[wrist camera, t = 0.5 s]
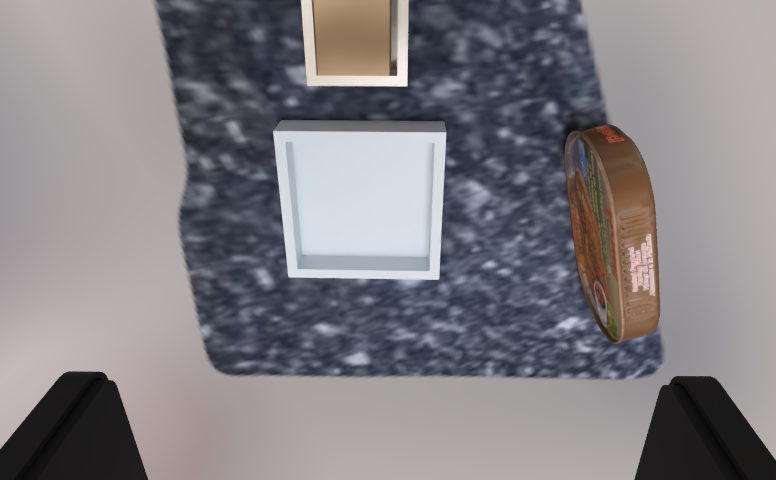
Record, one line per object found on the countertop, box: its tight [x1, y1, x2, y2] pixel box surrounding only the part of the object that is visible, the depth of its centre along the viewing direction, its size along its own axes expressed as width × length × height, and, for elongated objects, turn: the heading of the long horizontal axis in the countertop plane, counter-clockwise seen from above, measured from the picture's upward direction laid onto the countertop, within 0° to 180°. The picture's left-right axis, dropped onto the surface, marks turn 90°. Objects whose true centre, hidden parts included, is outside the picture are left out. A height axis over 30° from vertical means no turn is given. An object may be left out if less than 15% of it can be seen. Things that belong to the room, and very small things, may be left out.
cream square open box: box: [301, 0, 409, 86], centre depth 33 cm, size 6×6×4 cm
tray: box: [273, 120, 446, 280], centre depth 38 cm, size 11×11×2 cm
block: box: [314, 0, 391, 76], centre depth 31 cm, size 4×4×4 cm
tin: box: [564, 125, 660, 344], centre depth 36 cm, size 15×3×8 cm, turn 15°
